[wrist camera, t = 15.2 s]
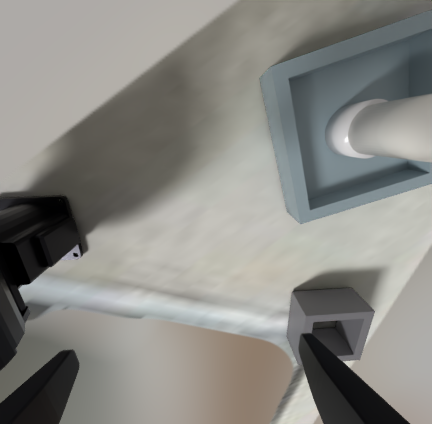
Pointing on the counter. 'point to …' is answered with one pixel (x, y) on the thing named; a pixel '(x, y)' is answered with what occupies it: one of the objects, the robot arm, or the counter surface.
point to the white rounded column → (383, 129)
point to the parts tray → (335, 99)
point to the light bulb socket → (331, 311)
